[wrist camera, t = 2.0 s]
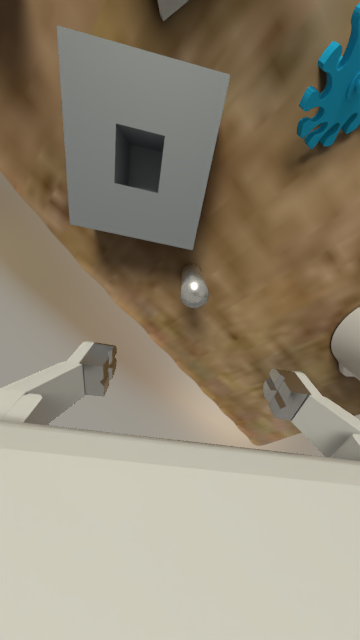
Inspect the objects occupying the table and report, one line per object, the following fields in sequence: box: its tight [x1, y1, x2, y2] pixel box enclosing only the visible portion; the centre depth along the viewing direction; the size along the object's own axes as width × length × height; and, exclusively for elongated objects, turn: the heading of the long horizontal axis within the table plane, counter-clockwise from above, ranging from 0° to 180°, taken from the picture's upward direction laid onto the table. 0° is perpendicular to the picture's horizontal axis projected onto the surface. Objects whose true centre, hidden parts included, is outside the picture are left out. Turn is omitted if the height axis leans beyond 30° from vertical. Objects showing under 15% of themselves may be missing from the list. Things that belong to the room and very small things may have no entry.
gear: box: [297, 3, 360, 149], centre depth 18 cm, size 11×6×10 cm
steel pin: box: [181, 263, 209, 308], centre depth 25 cm, size 3×3×10 cm
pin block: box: [57, 26, 230, 250], centre depth 21 cm, size 14×14×6 cm
